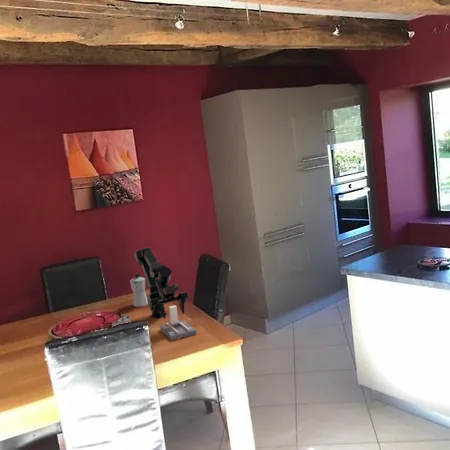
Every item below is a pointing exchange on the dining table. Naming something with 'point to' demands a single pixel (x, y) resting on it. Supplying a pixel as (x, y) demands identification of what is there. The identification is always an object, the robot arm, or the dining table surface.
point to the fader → (173, 316)
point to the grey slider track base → (178, 330)
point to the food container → (122, 320)
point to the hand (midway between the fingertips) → (174, 316)
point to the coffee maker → (138, 291)
